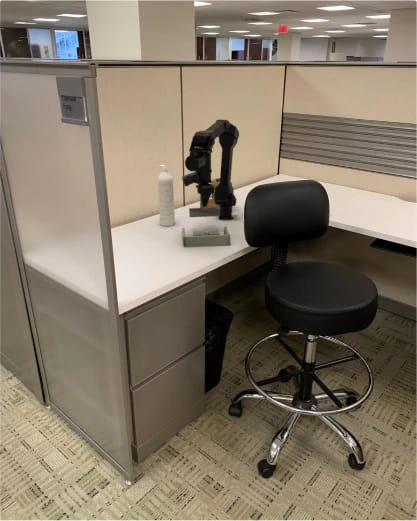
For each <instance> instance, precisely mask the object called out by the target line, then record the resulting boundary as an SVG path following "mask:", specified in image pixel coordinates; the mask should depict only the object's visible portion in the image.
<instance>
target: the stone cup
mask: <svg viewBox="0 0 417 521" xmlns="http://www.w3.org/2000/svg"><path fill="white" fill-rule="evenodd" d="M211 180H212V183H211V184H212V185H213V186H214V193H215V188H216V186H218V184H219V183H220V177H215V178H213V179H211ZM231 185H232V186H233V183H232V181H231ZM214 193H212V194H211V198H209V200H208V208H212V207H219V205H216V204H215V199H214Z"/></svg>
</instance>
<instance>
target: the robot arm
mask: <svg viewBox="0 0 417 521" xmlns="http://www.w3.org/2000/svg"><path fill="white" fill-rule="evenodd" d="M239 137H240V131H239V130H238V127H237V126H235V125H234V124H232V123H231V122H230V121H229V120H228V119H216V121H215V122H214V123H213V124H211V125H210V126H209V127H208V128H207V129H205V130H199V131H195V133H194V135H193V136H192V140H191V142H190V146H189V150H188V151H189V155H188V156H187V157H186V158H185V160H184V166H185V168H186V169H187V171H189V172H190V173H187V174H185V175H182V177H181V179H182V182H183V184H184V187H188V186H190V185H192V184H195V188H196V191H197V194H199V195H200V194H201V198H202V203H203V206H206V205H207V203H208V200H209V199H211V197H212V193H214V186H213V185H212V180H213V179H212V172H213V170H212V153H213V148H214V145H215V144H216V141H215V140H216V139H217V138H218V143H219V145H220V147H221V160H220V173H219V174H220V175H219V176H220V177H219V178H220V183H219V184H218V186H216V188H215V193H214V199H215V204H216V205H219V216H217V217H218V219H219V220H233V219H234V216H233V208H234V207H236V206H237V198H236V195H235V193H234V187H233V184H232V185H231V182H232V181H231V180H232V167H233V156H234V148H235V147H236V146H237V145H238V140H239Z"/></svg>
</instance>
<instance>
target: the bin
mask: <svg viewBox="0 0 417 521" xmlns="http://www.w3.org/2000/svg"><path fill="white" fill-rule="evenodd" d="M185 229H186V228H185V227H182V228H181V235H182V236H181V238H182V245H183V248H189V247H190V248H193V247H215V246H231V234H230V231H229V230H228V227H227V226H223V234H220V235H208V234H206V235H203V236H193V235H186V230H185Z"/></svg>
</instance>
